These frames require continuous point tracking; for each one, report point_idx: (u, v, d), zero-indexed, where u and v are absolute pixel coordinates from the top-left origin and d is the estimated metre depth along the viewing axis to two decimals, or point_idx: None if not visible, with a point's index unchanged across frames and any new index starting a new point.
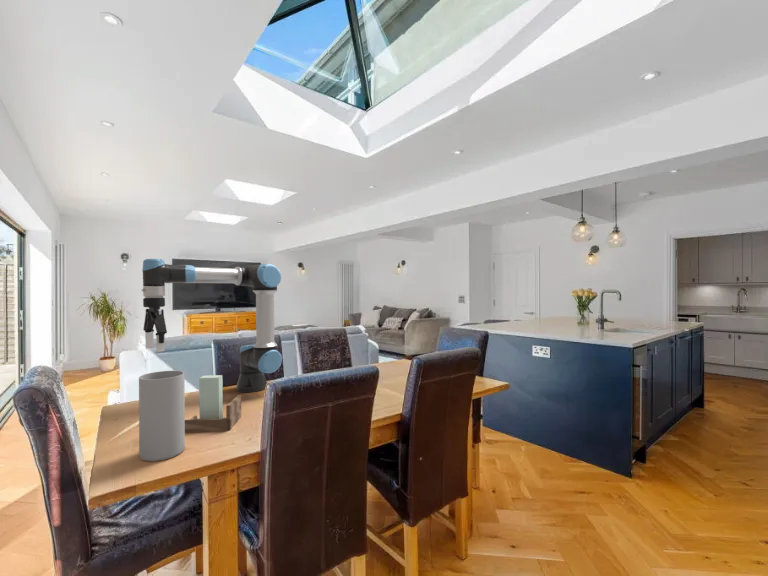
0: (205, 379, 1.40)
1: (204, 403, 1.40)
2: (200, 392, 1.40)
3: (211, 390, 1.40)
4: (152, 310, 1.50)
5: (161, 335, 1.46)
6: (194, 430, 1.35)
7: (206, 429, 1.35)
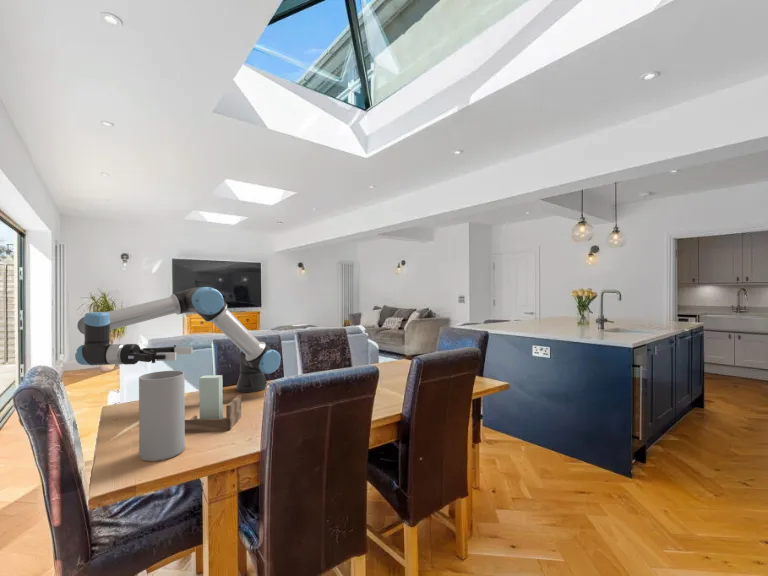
0: (205, 379, 1.40)
1: (204, 403, 1.40)
2: (200, 392, 1.40)
3: (211, 390, 1.40)
4: None
5: (154, 358, 1.32)
6: (194, 430, 1.35)
7: (206, 429, 1.35)
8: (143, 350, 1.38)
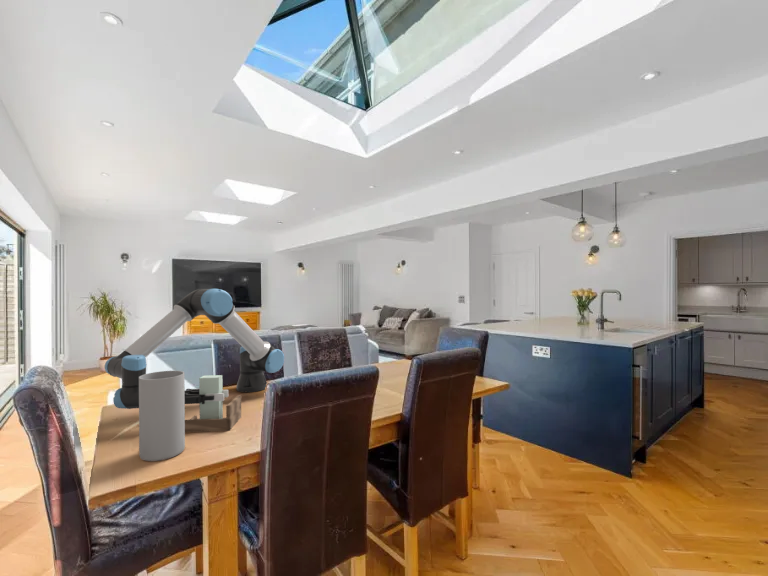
0: (205, 379, 1.40)
1: None
2: (200, 392, 1.40)
3: (211, 390, 1.40)
4: None
5: (204, 399, 1.38)
6: (194, 430, 1.35)
7: (206, 429, 1.35)
8: None
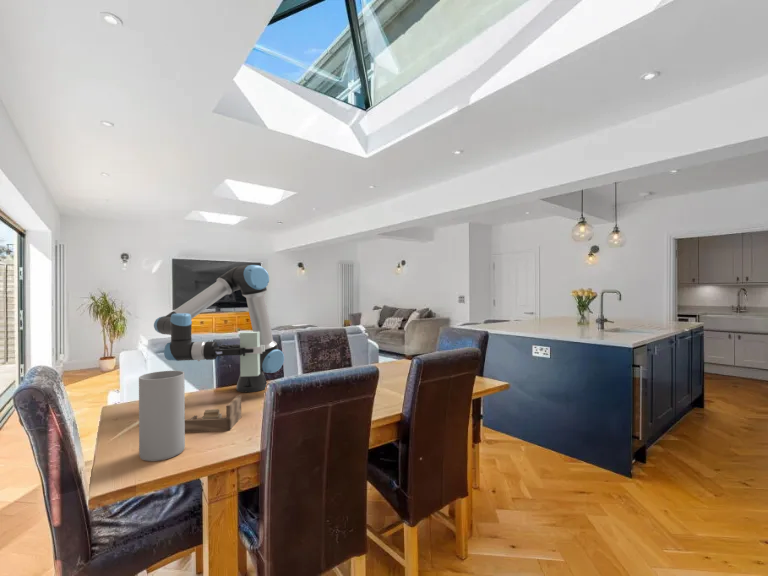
0: (245, 334, 1.56)
1: (244, 356, 1.56)
2: (241, 346, 1.55)
3: (250, 344, 1.56)
4: (215, 353, 1.55)
5: (245, 351, 1.54)
6: (194, 430, 1.35)
7: (206, 429, 1.35)
8: (225, 346, 1.55)
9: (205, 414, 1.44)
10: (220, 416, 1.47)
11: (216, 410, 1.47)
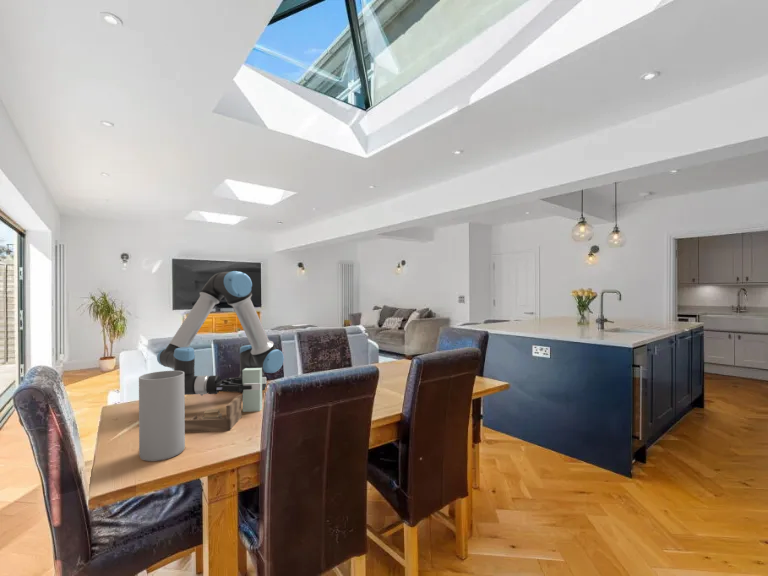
0: (247, 371, 1.57)
1: (246, 393, 1.56)
2: (243, 383, 1.56)
3: (253, 381, 1.57)
4: None
5: (243, 388, 1.52)
6: (194, 430, 1.35)
7: (206, 429, 1.35)
8: (227, 381, 1.56)
9: (205, 414, 1.44)
10: (220, 416, 1.47)
11: (216, 410, 1.47)
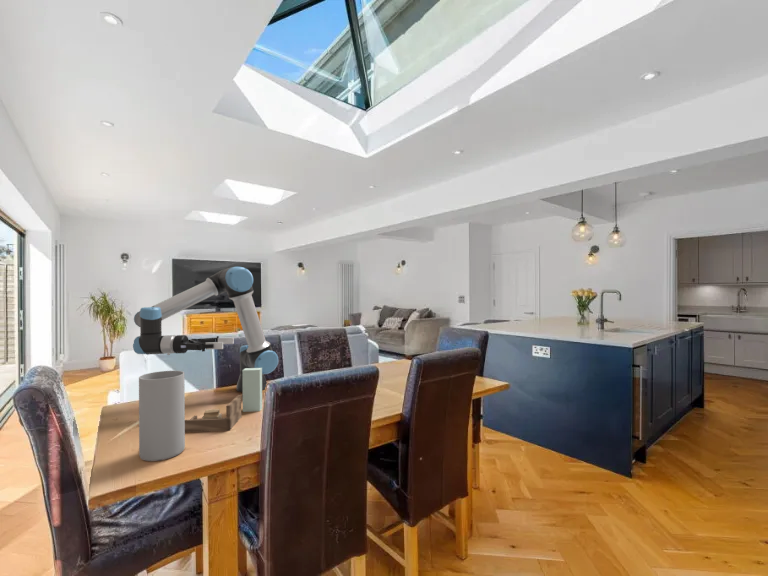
0: (247, 371, 1.57)
1: (246, 393, 1.56)
2: (243, 383, 1.56)
3: (253, 381, 1.57)
4: None
5: (204, 347, 1.49)
6: (194, 430, 1.35)
7: (206, 429, 1.35)
8: (192, 340, 1.54)
9: (205, 414, 1.44)
10: (220, 416, 1.47)
11: (216, 410, 1.47)
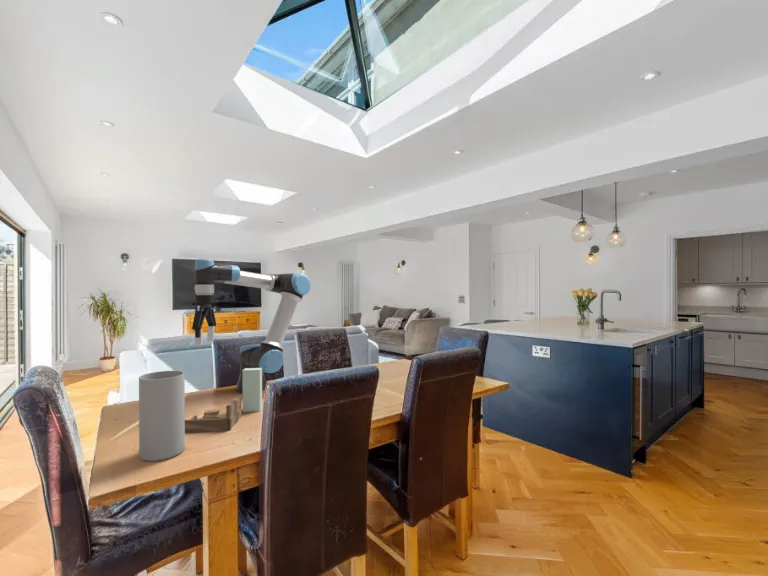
0: (247, 371, 1.57)
1: (246, 393, 1.56)
2: (243, 383, 1.56)
3: (253, 381, 1.57)
4: None
5: (196, 330, 1.56)
6: (194, 430, 1.35)
7: (206, 429, 1.35)
8: (206, 313, 1.62)
9: (205, 414, 1.44)
10: (220, 416, 1.47)
11: (216, 410, 1.47)
